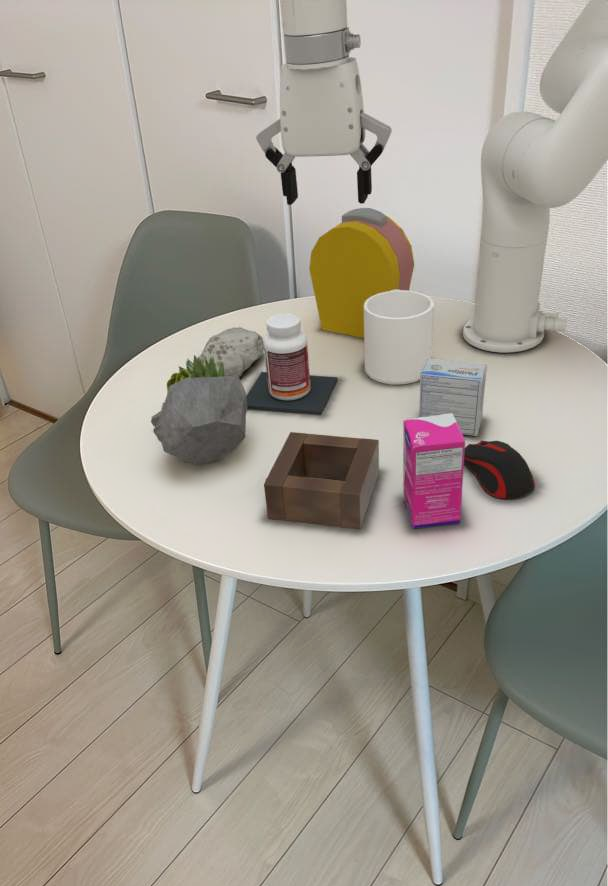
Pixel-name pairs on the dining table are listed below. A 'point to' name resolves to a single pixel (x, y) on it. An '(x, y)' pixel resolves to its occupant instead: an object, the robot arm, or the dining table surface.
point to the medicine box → (454, 392)
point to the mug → (397, 335)
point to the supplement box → (433, 470)
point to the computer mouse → (499, 469)
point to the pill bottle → (286, 358)
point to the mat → (307, 404)
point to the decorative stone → (234, 350)
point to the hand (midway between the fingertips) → (327, 200)
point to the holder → (323, 480)
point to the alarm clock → (358, 267)
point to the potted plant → (202, 413)
